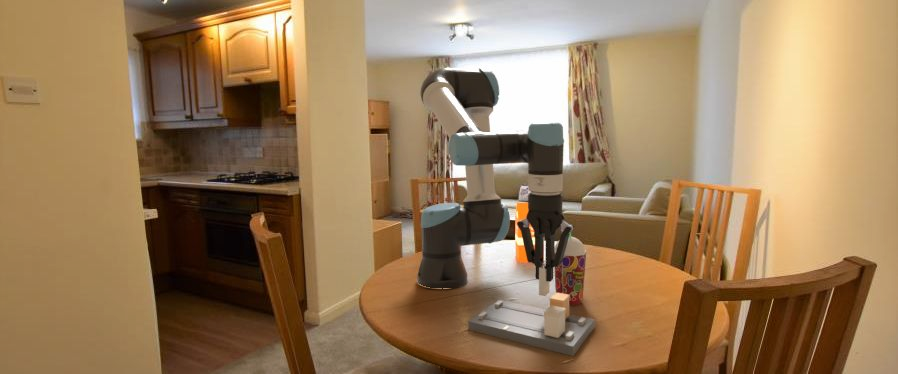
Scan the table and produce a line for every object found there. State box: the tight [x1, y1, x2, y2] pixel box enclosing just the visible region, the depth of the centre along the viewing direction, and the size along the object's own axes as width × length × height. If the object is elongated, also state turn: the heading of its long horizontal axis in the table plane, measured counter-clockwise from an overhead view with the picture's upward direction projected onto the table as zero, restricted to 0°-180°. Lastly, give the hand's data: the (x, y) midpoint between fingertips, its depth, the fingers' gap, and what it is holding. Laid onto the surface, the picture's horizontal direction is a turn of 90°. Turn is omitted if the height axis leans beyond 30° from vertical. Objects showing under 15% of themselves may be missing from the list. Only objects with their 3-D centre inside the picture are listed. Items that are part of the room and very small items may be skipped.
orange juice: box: [514, 202, 535, 263], centre depth 155 cm, size 8×9×20 cm
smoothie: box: [554, 232, 587, 306], centre depth 115 cm, size 8×8×20 cm
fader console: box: [468, 299, 596, 357], centre depth 100 cm, size 24×15×3 cm, turn 56°
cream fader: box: [544, 305, 566, 338], centre depth 93 cm, size 3×4×5 cm
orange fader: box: [549, 291, 570, 319], centre depth 100 cm, size 3×4×5 cm
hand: (544, 293), depth 103 cm, fingers closed
